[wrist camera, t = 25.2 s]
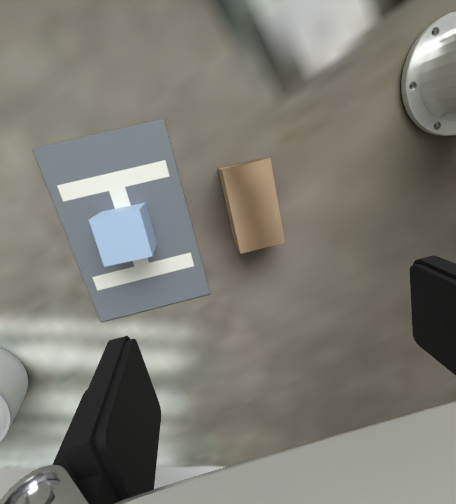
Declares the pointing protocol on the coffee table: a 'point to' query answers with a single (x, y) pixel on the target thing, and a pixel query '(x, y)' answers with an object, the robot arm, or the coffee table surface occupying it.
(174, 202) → the letter card
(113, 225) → the blue cube
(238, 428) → the coffee table surface
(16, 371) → the teacup
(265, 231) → the walnut block
